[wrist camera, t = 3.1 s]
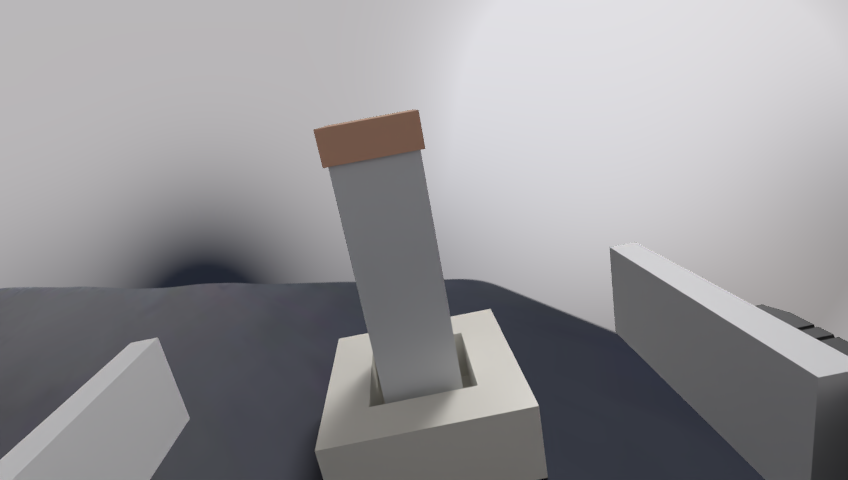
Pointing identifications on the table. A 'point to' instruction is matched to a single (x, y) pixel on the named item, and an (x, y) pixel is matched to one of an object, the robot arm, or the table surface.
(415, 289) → the plug
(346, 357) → the white square base
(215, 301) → the table surface
